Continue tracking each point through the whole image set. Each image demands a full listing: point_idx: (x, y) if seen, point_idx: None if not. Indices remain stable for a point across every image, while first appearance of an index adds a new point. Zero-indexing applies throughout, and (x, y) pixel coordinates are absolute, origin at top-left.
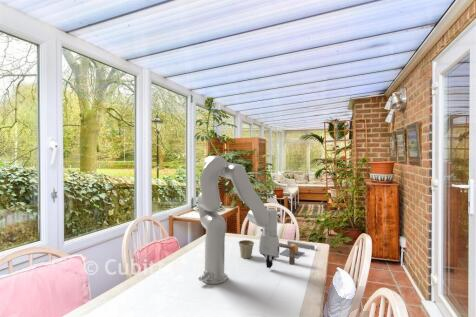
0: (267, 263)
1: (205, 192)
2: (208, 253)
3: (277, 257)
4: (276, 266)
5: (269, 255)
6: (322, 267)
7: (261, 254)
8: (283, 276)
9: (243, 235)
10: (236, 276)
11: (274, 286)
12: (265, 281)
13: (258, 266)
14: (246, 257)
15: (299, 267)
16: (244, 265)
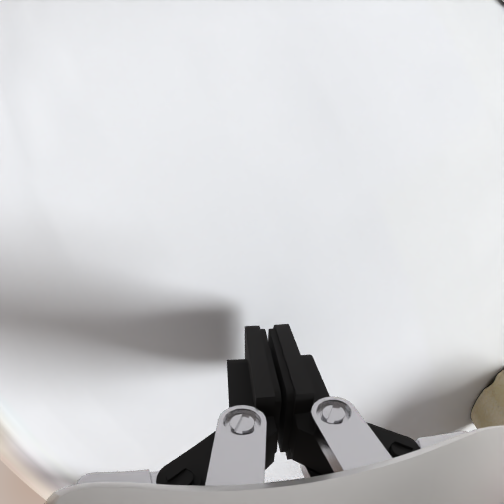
0: (285, 359)
1: None
2: None
3: (91, 480)
4: None
5: None
6: (29, 485)
7: (445, 434)
8: (43, 271)
9: None
10: (451, 3)
11: (26, 12)
12: (137, 19)
13: (397, 334)
14: (500, 379)
15: (91, 470)
16: (499, 266)
